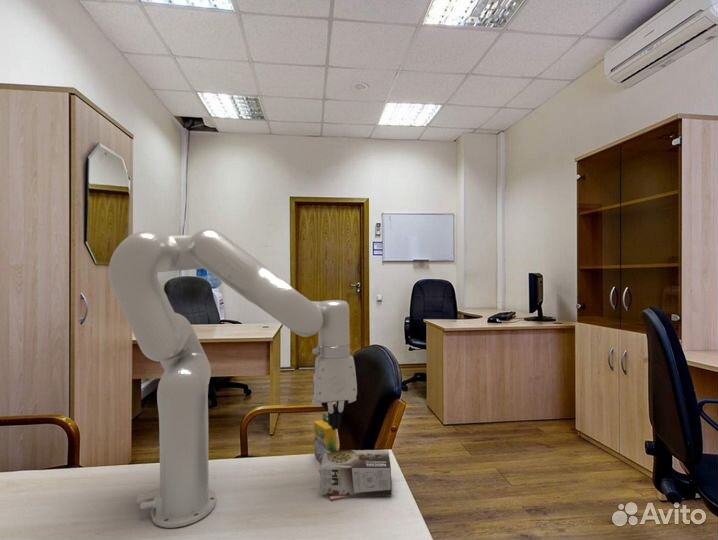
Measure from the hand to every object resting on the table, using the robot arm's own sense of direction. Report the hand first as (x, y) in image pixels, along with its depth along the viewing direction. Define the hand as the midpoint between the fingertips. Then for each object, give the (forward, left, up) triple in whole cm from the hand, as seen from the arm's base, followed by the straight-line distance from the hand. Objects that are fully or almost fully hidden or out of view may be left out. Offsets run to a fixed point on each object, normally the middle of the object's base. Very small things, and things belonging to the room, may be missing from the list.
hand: (334, 427), depth 90 cm
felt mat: (+3, 0, -13) cm, 14 cm away
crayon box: (0, +10, -13) cm, 17 cm away
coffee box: (-3, -1, -10) cm, 10 cm away
